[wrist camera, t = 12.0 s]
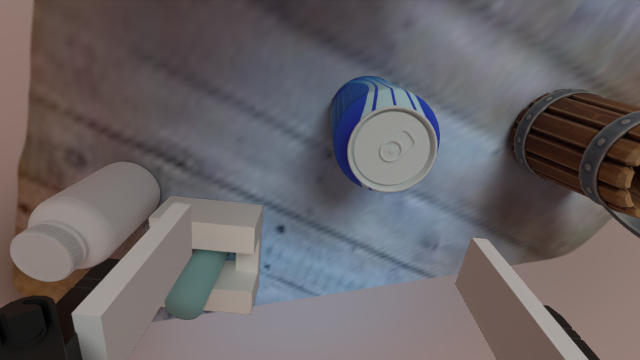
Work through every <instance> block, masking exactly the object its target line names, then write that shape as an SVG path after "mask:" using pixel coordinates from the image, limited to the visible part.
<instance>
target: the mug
mask: <svg viewBox="0 0 640 360" xmlns="http://www.w3.org/2000/svg"><path fill="white" fill-rule="evenodd" d="M511 144H513V147H512V152H513V155H514V157H515V159H516V160H517V162H518V163H520V164H521V166H522V167H523V168H524V169H525V170H527V171H528V172H529V173H531V174H533V175H535V176H538V177H540V178H543V179H546V180H549V181H553V182H555V183H557V184H559V185H562V186H564V187H566V188H568V189H571V190H573V191H575V192H577V193H580V194H582V195H584V196H586V197H589V198H590V199H591V200H593V201H594V202H595V203H597V204H600V205H602V206H603V207H604V208H605V209H606V210H607V211H608V212H609V213H610V214H611V215H612V216H613V217H614V218H615V219H616V220H617V221H618V222H619V223H620V224H621V225H623V226H624V227H625V228H626V229H628V230H629V231H630V232H631V233H633V234H634V235H636V236H637V237H639V238H640V107H637V106H633V105H629V104H626V103H622V102H618V101H615V100H611V99H607V98H605V97H603V96H601V95H598V94H596V93H593V92H589V91H585V90H581V89H561V90H555V91H554V92H553V93H551V94H550V93H547V94H545V95H543V96H541V97H539V98H537V99H536V100H535V101H533V102H532V103H531V105H530V106H529V107H526V109H525V110H524V111H523V112H522V113H521V115H520V116H519V118H518V120H517V121H516V126H515V127H514V128H513V132H512V136H511Z"/></svg>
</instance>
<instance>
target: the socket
mask: <svg viewBox="0 0 640 360" xmlns="http://www.w3.org/2000/svg"><path fill="white" fill-rule="evenodd" d="M173 203H183V204H191V223H192V254H193V253H194V251H195V250H196V249H202V250H213V251H223V252H234V253H236V261H231V260H225V262H224V265H223V267H222V269H221V271H220V274H219V276H218V278H217V280H216V282H215V285H214V287H213V289H212V291H211V294H210V296H209V298H208V300H207V303H206V305H205V307H204V309H203V310H204V311H216V312H227V313H239V314H250V315H251V312H252V308H253V305H254V301H255V297H256V293H257V290H258V286H259V274H260V256H261V238H262V219H263V205H258V204H248V203H239V202H229V201H219V200H209V199H199V198H189V197H179V196H170V197H169V198H168V199H167V200H166V201H165V202H164V203H163V204H162V205H161V206H160V207H159V208H158V209H157V210H156V211H155V212H154V213H153V214H152V215H151V216H150V217H149V228H151V227H152V226H153V225H154V224H155V223H156V221H157V220H158V219H159V218H160V217H161V216H162V215H163V214H164V213H165V212H166V211H167V210H168V208H169V207H170V206H171V205H172V204H173ZM161 307H165V300H164V302H163V303H162V305H161Z"/></svg>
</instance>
